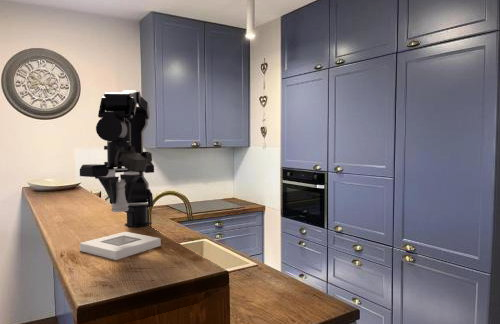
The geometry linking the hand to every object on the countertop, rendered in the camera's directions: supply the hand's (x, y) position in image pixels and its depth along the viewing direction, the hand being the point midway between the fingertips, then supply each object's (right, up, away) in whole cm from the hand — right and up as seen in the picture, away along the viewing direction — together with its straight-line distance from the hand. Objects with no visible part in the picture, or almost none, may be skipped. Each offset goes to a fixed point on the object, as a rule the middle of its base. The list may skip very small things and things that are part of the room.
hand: (120, 202), depth 91 cm
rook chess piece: (0, -2, 0) cm, 2 cm away
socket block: (0, -12, 0) cm, 12 cm away
